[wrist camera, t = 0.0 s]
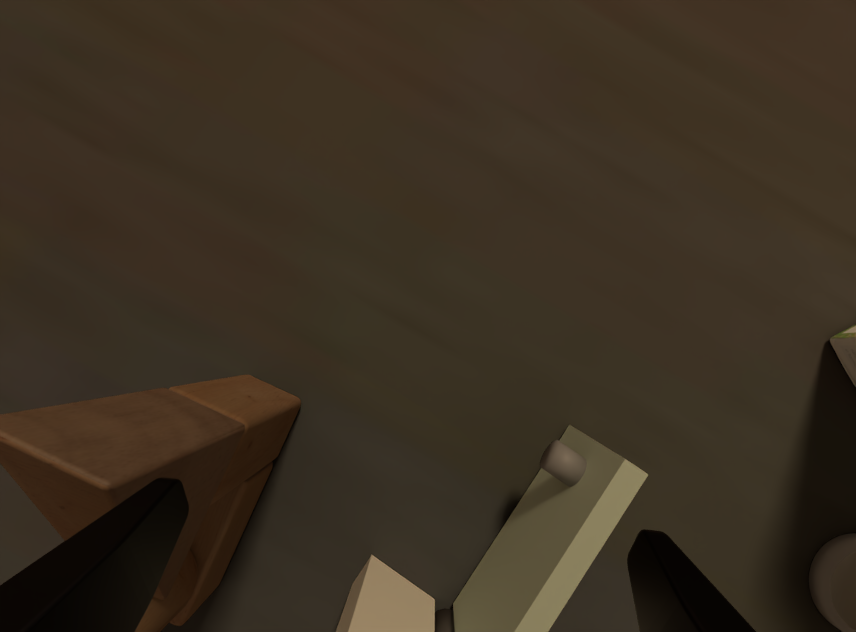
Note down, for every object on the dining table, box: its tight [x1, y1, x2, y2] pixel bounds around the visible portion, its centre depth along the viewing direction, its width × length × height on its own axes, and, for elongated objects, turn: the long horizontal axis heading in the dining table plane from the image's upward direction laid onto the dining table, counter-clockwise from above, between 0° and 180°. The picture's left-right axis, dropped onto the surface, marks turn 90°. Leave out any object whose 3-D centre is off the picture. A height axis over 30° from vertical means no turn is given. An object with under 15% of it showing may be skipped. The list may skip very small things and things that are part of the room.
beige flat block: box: [453, 425, 648, 632], centre depth 19 cm, size 11×2×7 cm, turn 146°
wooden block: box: [0, 375, 301, 632], centre depth 14 cm, size 4×11×18 cm, turn 156°
